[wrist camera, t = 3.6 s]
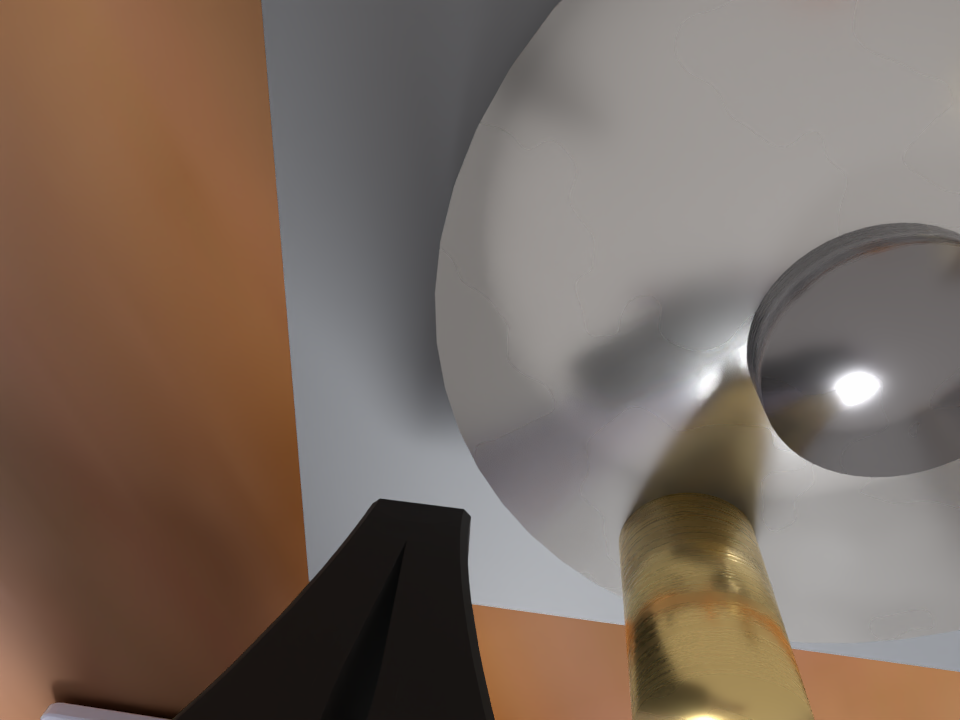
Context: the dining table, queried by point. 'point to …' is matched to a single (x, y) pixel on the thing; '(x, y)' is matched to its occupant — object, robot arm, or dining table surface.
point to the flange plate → (722, 327)
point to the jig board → (407, 281)
